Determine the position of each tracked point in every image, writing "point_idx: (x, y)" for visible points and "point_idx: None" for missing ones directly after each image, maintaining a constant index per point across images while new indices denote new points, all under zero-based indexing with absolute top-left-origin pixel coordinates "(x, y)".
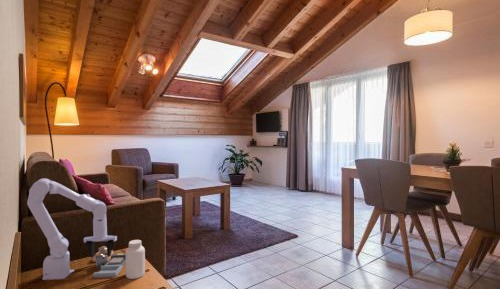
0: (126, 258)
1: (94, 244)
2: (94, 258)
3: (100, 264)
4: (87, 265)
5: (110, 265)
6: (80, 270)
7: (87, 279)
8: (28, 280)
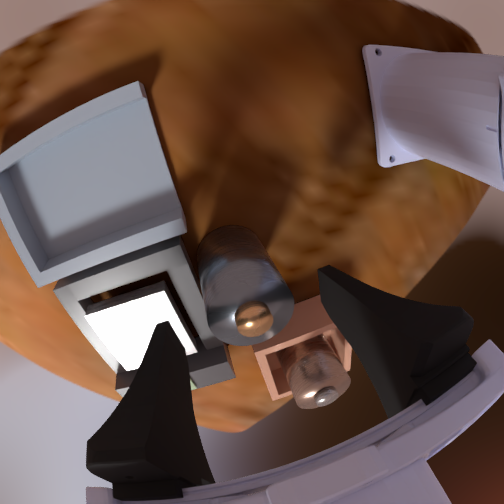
0: None
1: (377, 387)
2: None
3: (215, 248)
4: (342, 250)
5: (111, 256)
6: (344, 177)
7: (175, 50)
8: None
